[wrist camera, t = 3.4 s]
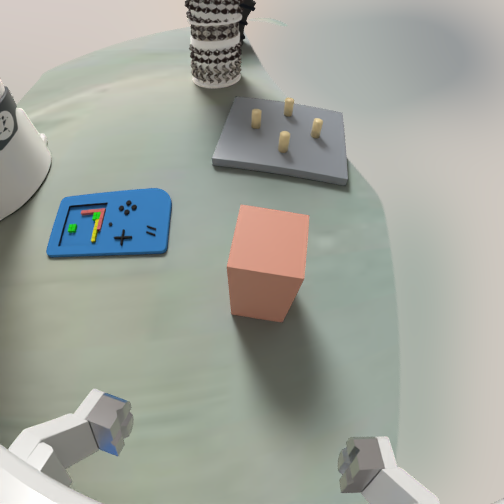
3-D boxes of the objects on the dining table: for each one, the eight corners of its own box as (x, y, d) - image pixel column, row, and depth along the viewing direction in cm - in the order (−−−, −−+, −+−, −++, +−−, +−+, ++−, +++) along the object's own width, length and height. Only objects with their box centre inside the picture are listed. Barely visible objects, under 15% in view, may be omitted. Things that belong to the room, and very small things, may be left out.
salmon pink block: (231, 314, 27) (226, 266, 18) (240, 268, 29) (240, 204, 20) (282, 322, 26) (304, 278, 18) (288, 276, 29) (309, 215, 20)
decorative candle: (204, 95, 42) (197, -52, 20) (182, 75, 46) (171, -50, 24) (253, 81, 45) (260, -55, 23) (226, 62, 49) (226, -56, 27)
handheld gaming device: (165, 249, 29) (43, 254, 28) (167, 255, 30) (48, 258, 29) (172, 184, 32) (61, 195, 32) (174, 190, 33) (64, 201, 33)
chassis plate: (212, 165, 35) (210, 142, 32) (235, 102, 42) (235, 82, 38) (345, 186, 34) (353, 164, 31) (340, 118, 41) (346, 99, 38)
